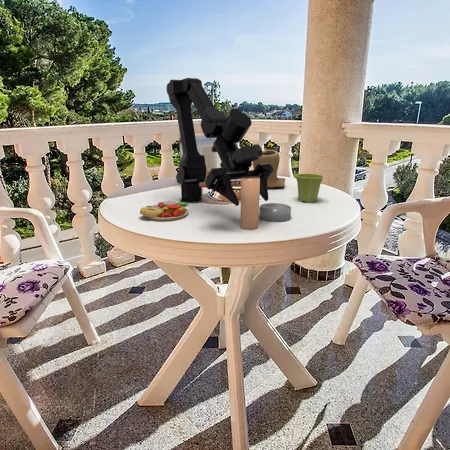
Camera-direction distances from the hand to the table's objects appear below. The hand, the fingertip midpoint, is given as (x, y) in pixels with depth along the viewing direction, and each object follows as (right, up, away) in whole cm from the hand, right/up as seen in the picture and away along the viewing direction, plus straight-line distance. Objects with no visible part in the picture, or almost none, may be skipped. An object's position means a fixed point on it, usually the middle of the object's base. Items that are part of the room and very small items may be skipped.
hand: (252, 202), depth 84 cm
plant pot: (+21, +3, +30) cm, 37 cm away
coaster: (+7, -3, +11) cm, 14 cm away
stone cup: (+11, +9, +50) cm, 52 cm away
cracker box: (-18, +10, +53) cm, 57 cm away
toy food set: (-25, -3, +14) cm, 29 cm away
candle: (-1, -6, +3) cm, 7 cm away
